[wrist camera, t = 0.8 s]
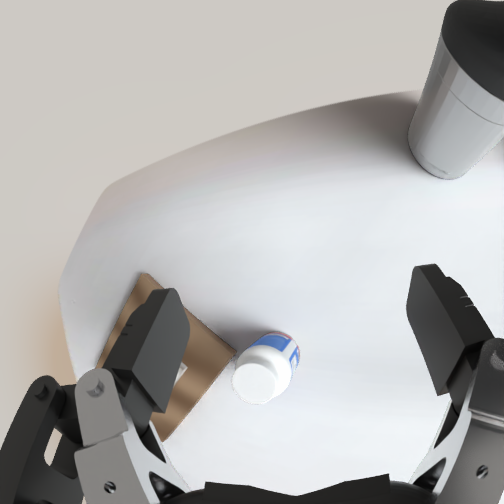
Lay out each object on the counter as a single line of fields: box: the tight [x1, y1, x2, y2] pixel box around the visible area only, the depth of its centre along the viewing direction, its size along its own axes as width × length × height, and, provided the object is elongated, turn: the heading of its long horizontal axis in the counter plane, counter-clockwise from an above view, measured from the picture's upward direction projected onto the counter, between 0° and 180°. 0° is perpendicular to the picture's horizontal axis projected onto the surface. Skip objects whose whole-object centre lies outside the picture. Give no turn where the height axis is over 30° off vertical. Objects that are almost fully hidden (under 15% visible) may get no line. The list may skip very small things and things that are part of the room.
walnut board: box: [95, 274, 237, 442], centre depth 35 cm, size 20×16×3 cm
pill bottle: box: [232, 332, 300, 404], centre depth 27 cm, size 6×5×10 cm
